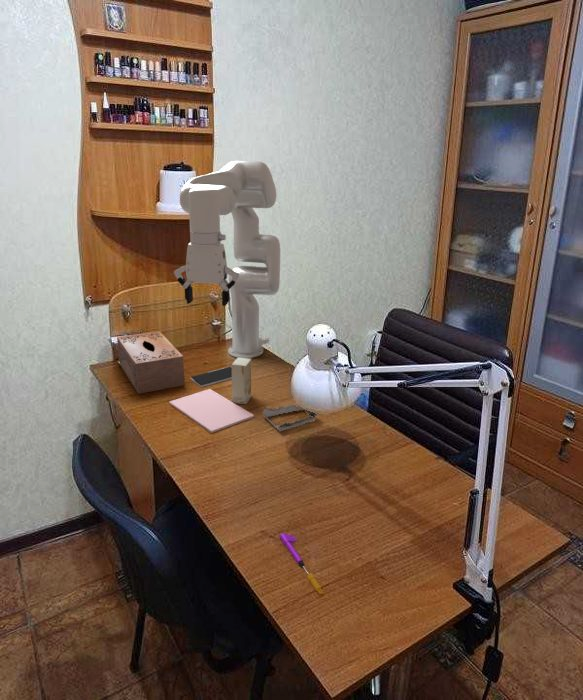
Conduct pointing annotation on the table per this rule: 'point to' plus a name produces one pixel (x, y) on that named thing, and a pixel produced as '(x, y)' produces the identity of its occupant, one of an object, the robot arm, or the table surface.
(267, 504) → the table surface
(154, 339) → the tissue box cover
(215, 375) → the smartphone
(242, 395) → the skincare box
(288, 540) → the purple and yellow tool
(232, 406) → the nail mat
